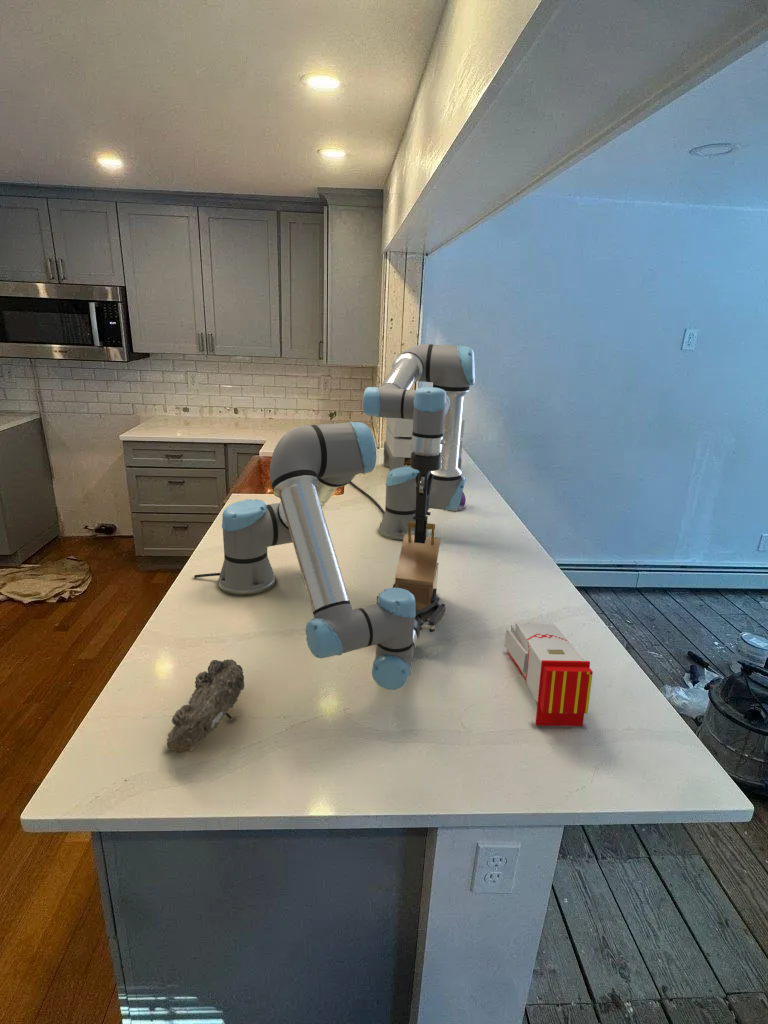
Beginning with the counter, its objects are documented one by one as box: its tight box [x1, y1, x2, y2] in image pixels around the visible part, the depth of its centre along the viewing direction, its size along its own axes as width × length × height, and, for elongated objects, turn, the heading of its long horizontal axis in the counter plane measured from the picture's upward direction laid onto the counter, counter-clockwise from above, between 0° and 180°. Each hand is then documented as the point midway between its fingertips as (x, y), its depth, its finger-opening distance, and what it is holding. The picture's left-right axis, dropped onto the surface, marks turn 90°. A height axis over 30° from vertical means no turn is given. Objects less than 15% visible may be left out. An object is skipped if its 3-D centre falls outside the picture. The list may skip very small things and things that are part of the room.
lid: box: [394, 521, 441, 585], centre depth 145 cm, size 15×10×9 cm, turn 169°
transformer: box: [383, 418, 465, 472], centre depth 268 cm, size 34×33×41 cm
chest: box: [394, 562, 440, 621], centre depth 151 cm, size 14×10×10 cm
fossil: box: [166, 658, 245, 754], centre depth 106 cm, size 22×10×15 cm
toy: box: [503, 622, 594, 727], centre depth 121 cm, size 12×13×30 cm
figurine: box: [450, 491, 467, 512], centre depth 226 cm, size 9×10×15 cm
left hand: (414, 590), depth 147 cm, fingers closed on chest, 10 cm apart
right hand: (420, 540), depth 147 cm, fingers closed on lid, 1 cm apart
